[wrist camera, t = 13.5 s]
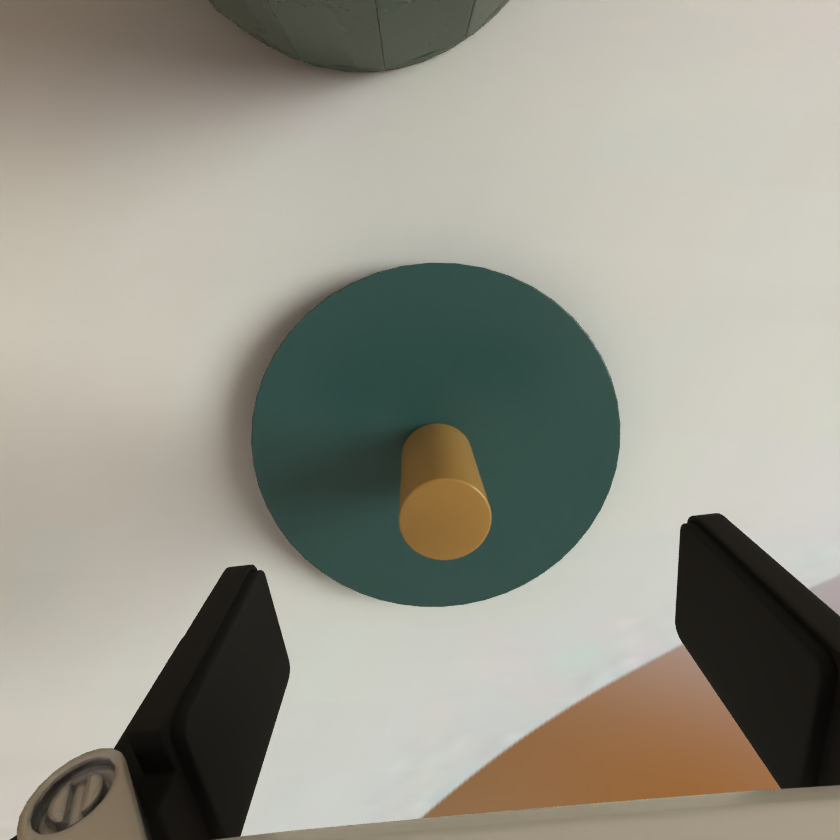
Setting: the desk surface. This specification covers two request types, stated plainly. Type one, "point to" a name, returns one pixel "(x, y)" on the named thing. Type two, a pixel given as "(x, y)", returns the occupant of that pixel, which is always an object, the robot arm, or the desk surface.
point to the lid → (435, 434)
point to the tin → (360, 28)
